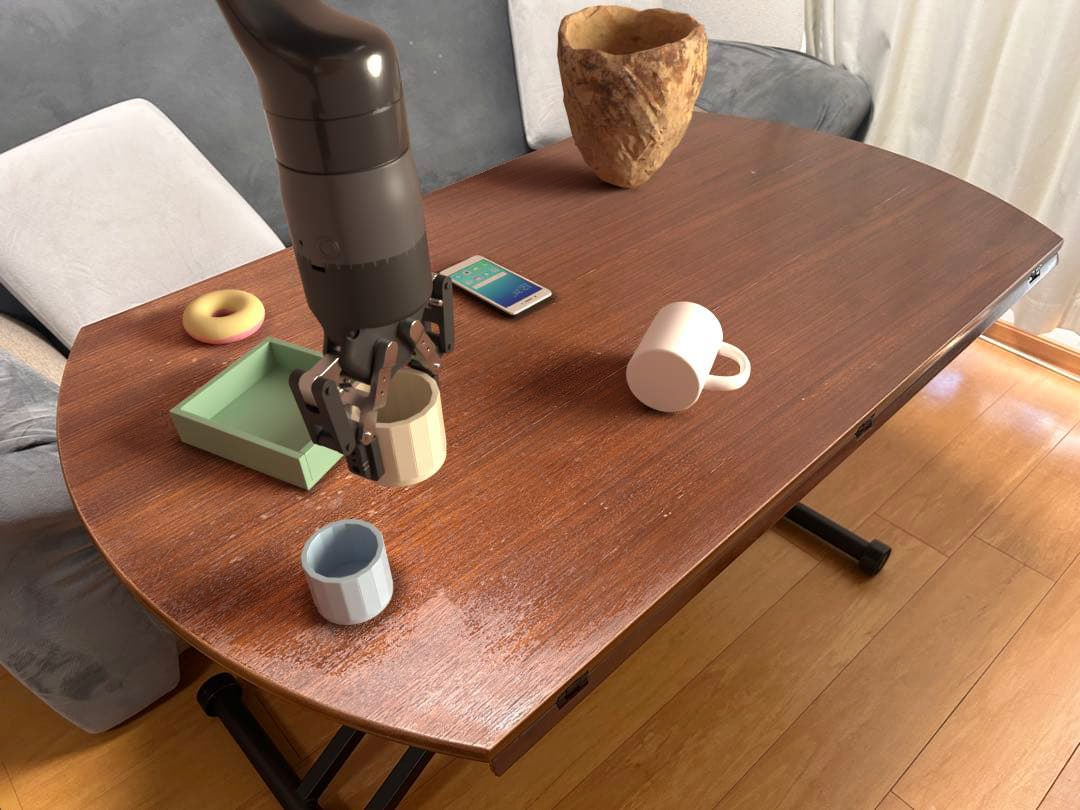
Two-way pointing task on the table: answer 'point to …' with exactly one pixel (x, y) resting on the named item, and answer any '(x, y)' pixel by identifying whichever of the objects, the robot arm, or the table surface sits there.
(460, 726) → the table surface
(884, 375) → the table surface
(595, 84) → the rough brown clay pot
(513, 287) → the smartphone
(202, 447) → the tub
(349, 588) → the gray cup
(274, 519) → the table surface
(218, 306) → the donut
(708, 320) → the mug
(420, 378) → the cream cup
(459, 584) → the table surface
